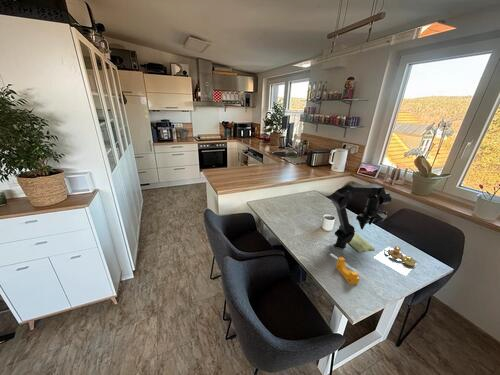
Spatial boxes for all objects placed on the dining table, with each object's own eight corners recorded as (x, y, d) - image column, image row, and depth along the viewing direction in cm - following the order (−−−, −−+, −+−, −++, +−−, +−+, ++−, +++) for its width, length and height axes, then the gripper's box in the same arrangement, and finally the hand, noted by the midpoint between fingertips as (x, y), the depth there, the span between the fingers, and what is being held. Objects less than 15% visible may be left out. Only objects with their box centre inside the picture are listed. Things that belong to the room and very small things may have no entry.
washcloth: (355, 235, 137) (356, 231, 136) (375, 252, 121) (377, 248, 120) (338, 237, 134) (339, 233, 133) (357, 255, 119) (358, 251, 117)
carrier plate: (405, 277, 103) (408, 270, 101) (373, 259, 115) (375, 252, 113) (418, 263, 113) (421, 257, 111) (387, 247, 125) (389, 241, 123)
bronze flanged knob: (398, 260, 113) (401, 253, 110) (386, 254, 117) (389, 246, 115) (402, 256, 116) (405, 249, 114) (391, 250, 120) (394, 243, 118)
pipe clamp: (358, 283, 100) (361, 273, 97) (350, 284, 99) (353, 275, 96) (343, 265, 110) (345, 256, 108) (336, 266, 110) (338, 257, 107)
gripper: (378, 215, 107) (371, 238, 113) (394, 206, 117) (386, 228, 123) (358, 206, 116) (352, 229, 122) (374, 199, 125) (368, 220, 132)
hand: (365, 226), depth 124 cm, fingers open, 9 cm apart
